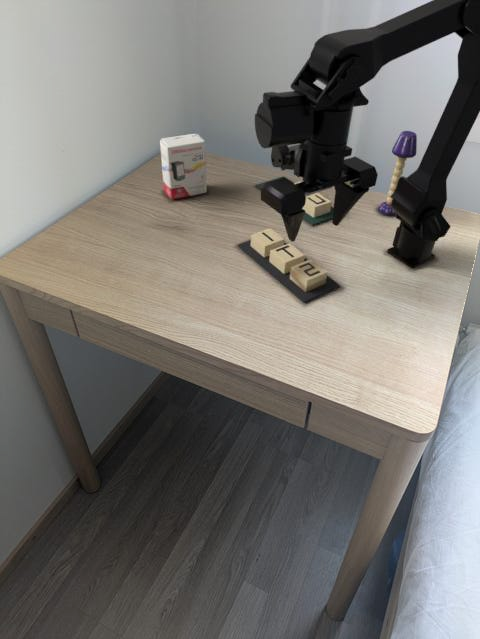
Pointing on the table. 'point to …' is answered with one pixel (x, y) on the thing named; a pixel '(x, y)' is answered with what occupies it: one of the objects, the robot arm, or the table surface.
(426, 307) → the table surface
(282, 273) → the near word mat
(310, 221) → the far word mat
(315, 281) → the tile
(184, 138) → the ink box
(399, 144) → the toy lamp
